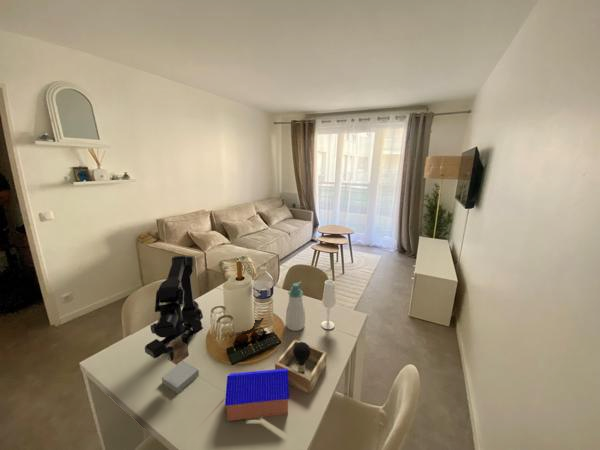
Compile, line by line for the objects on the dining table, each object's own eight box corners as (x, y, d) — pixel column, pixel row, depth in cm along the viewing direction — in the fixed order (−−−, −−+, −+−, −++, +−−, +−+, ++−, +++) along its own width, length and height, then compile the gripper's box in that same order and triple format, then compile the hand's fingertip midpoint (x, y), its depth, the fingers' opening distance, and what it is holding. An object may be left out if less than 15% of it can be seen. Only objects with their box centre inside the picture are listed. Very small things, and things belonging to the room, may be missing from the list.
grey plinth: (184, 366, 97) (183, 360, 97) (199, 376, 93) (198, 369, 92) (162, 383, 90) (161, 377, 89) (177, 394, 85) (176, 387, 85)
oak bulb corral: (294, 351, 106) (294, 339, 104) (326, 364, 99) (326, 352, 97) (275, 376, 93) (274, 363, 91) (309, 394, 86) (310, 380, 84)
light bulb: (309, 363, 99) (309, 338, 96) (310, 377, 93) (311, 351, 90) (292, 363, 99) (293, 338, 96) (293, 377, 92) (293, 351, 89)
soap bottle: (308, 324, 123) (309, 284, 118) (296, 334, 116) (296, 291, 111) (294, 317, 129) (295, 278, 124) (281, 325, 122) (281, 284, 117)
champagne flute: (330, 331, 119) (332, 286, 113) (318, 325, 123) (320, 282, 117) (336, 324, 124) (339, 281, 118) (325, 319, 128) (327, 277, 122)
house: (232, 388, 88) (230, 361, 85) (286, 383, 90) (286, 357, 87) (226, 422, 76) (223, 392, 74) (289, 415, 79) (289, 386, 76)
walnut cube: (180, 350, 92) (178, 339, 91) (188, 355, 90) (187, 344, 89) (167, 359, 88) (166, 347, 87) (176, 364, 86) (174, 353, 85)
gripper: (182, 299, 97) (186, 333, 100) (132, 325, 81) (139, 364, 85) (201, 307, 92) (204, 342, 95) (151, 337, 76) (158, 377, 79)
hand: (178, 355), depth 89 cm, fingers closed on walnut cube, 5 cm apart
